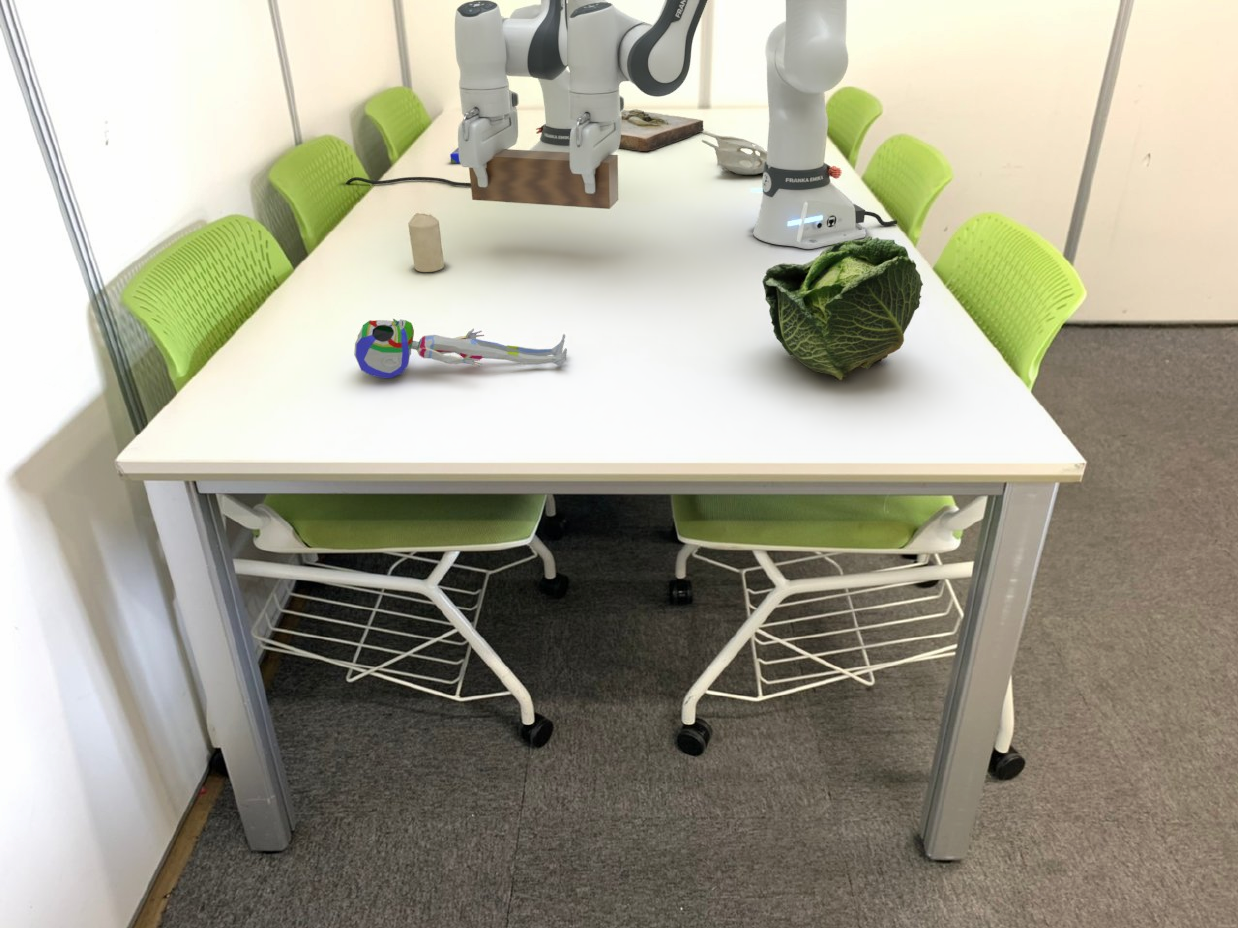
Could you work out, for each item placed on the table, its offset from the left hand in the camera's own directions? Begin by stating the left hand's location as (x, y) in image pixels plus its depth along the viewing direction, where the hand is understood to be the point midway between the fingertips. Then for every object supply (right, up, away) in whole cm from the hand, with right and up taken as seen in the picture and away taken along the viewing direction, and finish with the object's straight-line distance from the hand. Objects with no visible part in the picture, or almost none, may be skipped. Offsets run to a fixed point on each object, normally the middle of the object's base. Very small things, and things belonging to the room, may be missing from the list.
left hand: (492, 180), depth 169 cm
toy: (+1, -40, -37) cm, 54 cm away
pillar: (-18, +30, +74) cm, 82 cm away
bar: (+10, -4, -1) cm, 11 cm away
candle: (-12, -17, -1) cm, 21 cm away
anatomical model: (+57, +19, +54) cm, 81 cm away
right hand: (+20, -3, -5) cm, 21 cm away
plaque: (+28, +41, +90) cm, 103 cm away
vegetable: (+56, -39, -38) cm, 78 cm away
